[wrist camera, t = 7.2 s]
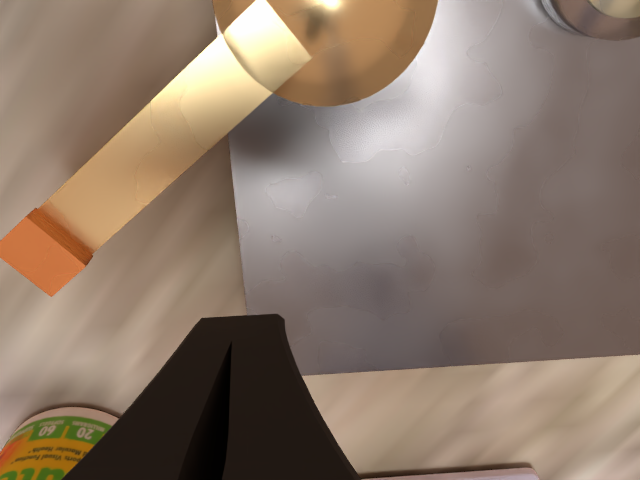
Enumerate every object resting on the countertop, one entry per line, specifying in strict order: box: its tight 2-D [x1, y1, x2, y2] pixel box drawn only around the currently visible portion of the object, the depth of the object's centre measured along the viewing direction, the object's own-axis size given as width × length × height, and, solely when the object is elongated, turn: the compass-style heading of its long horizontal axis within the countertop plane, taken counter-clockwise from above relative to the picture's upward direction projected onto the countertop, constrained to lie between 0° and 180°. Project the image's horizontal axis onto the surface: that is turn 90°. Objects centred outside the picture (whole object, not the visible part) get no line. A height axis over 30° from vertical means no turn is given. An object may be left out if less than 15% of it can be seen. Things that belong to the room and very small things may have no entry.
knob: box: [0, 0, 438, 297], centre depth 12 cm, size 11×4×3 cm, turn 129°
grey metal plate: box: [215, 0, 640, 376], centre depth 15 cm, size 14×19×3 cm
